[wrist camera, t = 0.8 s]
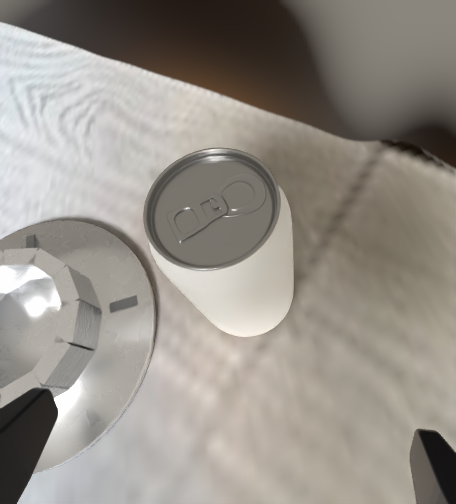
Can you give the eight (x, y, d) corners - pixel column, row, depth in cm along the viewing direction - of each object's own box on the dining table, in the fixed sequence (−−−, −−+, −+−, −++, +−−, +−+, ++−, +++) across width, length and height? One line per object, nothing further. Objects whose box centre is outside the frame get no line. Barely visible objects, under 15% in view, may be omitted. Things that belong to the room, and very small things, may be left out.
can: (312, 310, 24) (324, 230, 13) (225, 355, 24) (165, 311, 13) (266, 234, 27) (245, 116, 16) (187, 274, 27) (113, 182, 16)
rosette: (44, 543, 21) (-4, 568, 18) (-117, 380, 28) (-176, 376, 24) (204, 284, 26) (189, 265, 23) (36, 194, 32) (4, 168, 29)
